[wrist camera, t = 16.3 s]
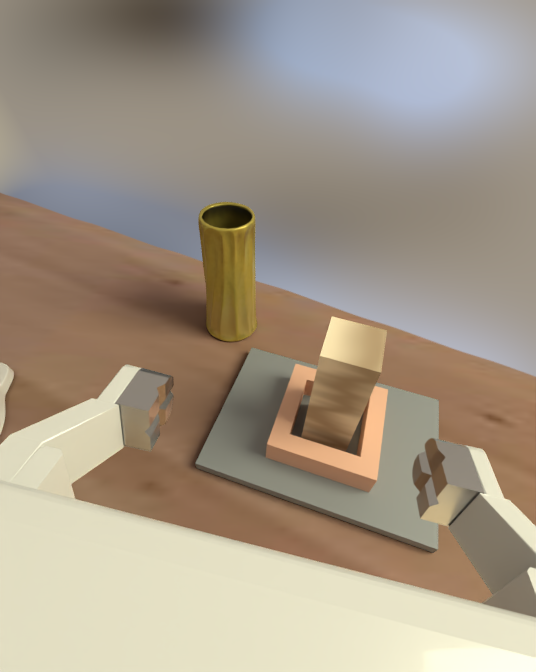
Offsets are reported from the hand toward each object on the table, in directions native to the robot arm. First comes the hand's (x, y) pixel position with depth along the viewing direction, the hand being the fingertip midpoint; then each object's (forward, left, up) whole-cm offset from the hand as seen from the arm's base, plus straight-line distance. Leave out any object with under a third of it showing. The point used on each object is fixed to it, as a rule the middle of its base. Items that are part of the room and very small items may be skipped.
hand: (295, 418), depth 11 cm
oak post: (0, +12, -20) cm, 23 cm away
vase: (-16, +20, -21) cm, 33 cm away
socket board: (0, +12, -21) cm, 24 cm away
